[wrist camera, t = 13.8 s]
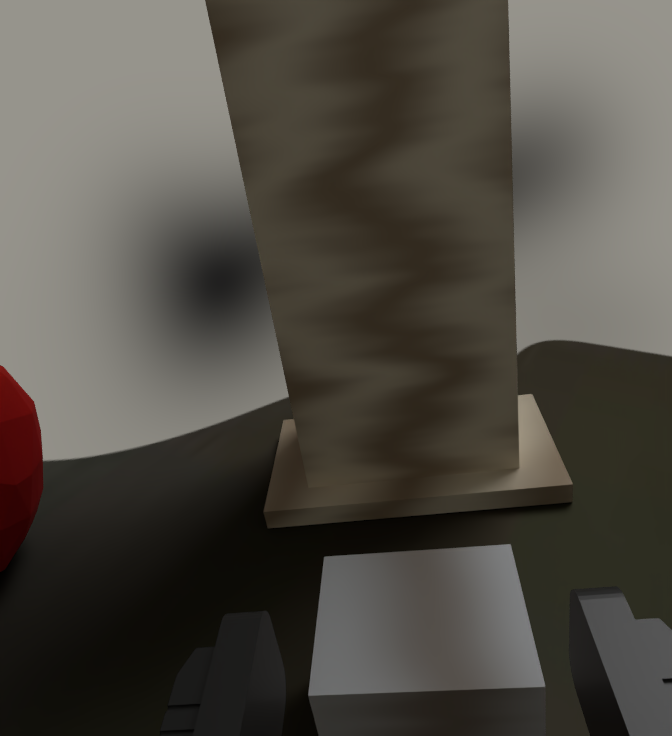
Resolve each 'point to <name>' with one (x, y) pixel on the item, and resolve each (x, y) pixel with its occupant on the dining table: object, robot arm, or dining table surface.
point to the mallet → (425, 646)
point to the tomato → (17, 466)
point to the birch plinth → (386, 254)
